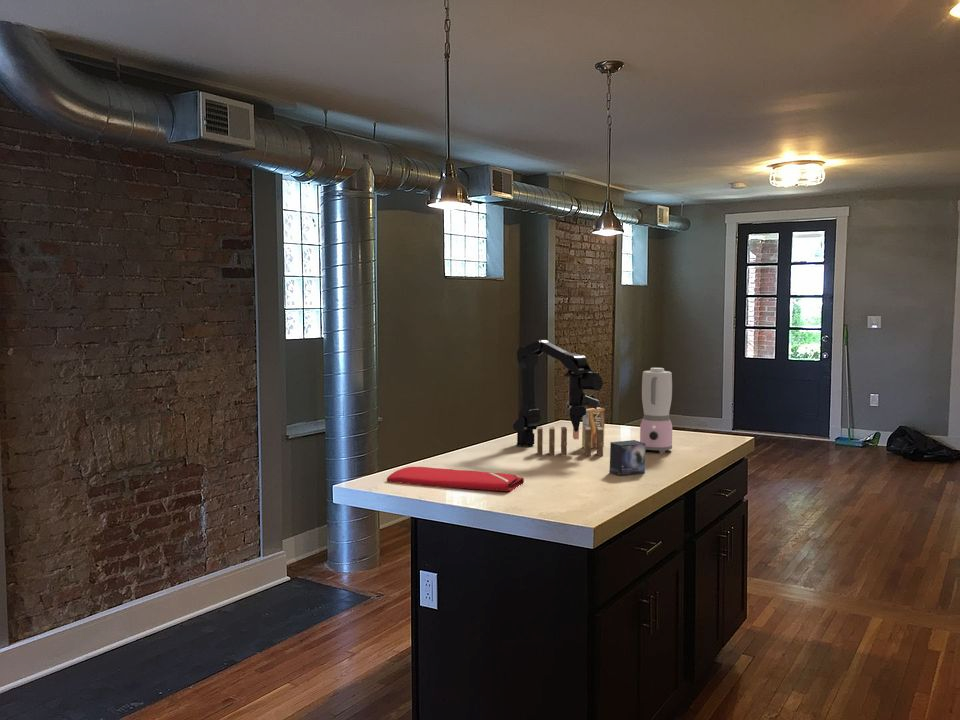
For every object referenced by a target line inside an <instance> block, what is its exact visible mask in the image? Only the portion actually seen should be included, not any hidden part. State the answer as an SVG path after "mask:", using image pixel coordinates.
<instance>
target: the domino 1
mask: <svg viewBox="0 0 960 720" xmlns="http://www.w3.org/2000/svg"><path fill="white" fill-rule="evenodd" d="M536 430H537V431H536V432H537V434H536V435H537V446H536V447H537V448H536V449H537V450H536V451H537V456H543V448H544V447H543V444H544V443H543V442H544V441H543V438H544V437H543V432H544V431H543V426H537V429H536Z"/></svg>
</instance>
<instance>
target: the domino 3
mask: <svg viewBox="0 0 960 720" xmlns="http://www.w3.org/2000/svg"><path fill="white" fill-rule="evenodd" d="M560 430H561V432H560V440H561V441H560V443H561V444H560V454H562V455H567V451H568V449H567V448H568V447H567V445H568V444H567V443H568V441H567V440H568V428H567V427H566V426H561V427H560ZM562 455H561V456H562Z"/></svg>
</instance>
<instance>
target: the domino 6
mask: <svg viewBox="0 0 960 720" xmlns="http://www.w3.org/2000/svg"><path fill="white" fill-rule="evenodd" d="M596 456H597V457H603V456H604V446H603V428H602V427H597V447H596Z"/></svg>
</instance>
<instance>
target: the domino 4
mask: <svg viewBox="0 0 960 720" xmlns="http://www.w3.org/2000/svg"><path fill="white" fill-rule="evenodd" d="M572 439H573V440H579V439H580V428H579V429H578V431H577V432H576V431H575V430H574V427H573V426H572Z"/></svg>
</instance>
